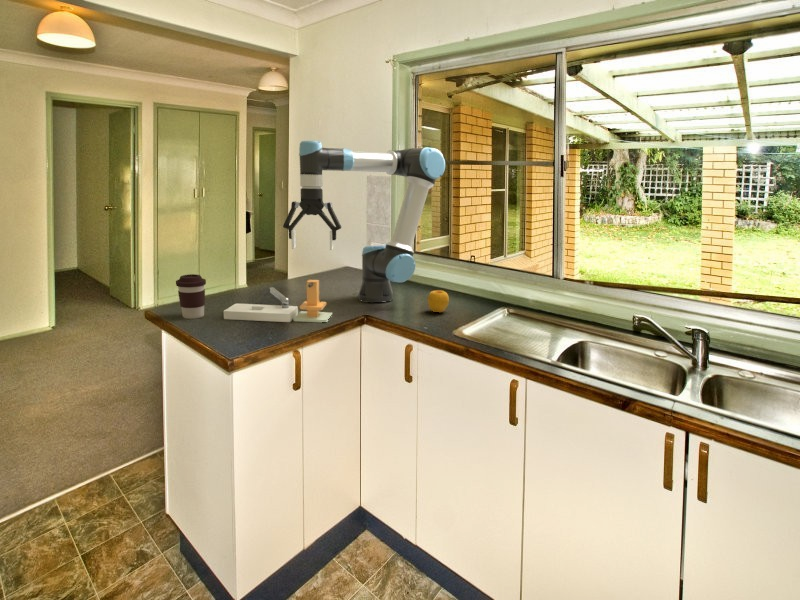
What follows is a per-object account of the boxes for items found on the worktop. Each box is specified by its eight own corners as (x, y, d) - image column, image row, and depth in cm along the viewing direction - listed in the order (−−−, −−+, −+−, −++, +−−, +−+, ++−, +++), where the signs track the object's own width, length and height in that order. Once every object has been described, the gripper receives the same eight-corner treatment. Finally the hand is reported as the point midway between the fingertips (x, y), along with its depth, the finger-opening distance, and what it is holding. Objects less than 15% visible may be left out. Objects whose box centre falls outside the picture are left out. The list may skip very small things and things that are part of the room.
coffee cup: (184, 312, 187) (180, 273, 183) (211, 312, 188) (208, 273, 184) (174, 320, 177) (171, 278, 174) (203, 320, 178) (200, 278, 174)
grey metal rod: (289, 303, 185) (289, 298, 185) (282, 304, 184) (282, 299, 184) (274, 291, 203) (274, 287, 203) (268, 292, 202) (268, 287, 201)
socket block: (297, 313, 189) (297, 302, 188) (289, 322, 179) (289, 310, 178) (235, 311, 191) (235, 300, 190) (224, 319, 180) (223, 307, 179)
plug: (326, 313, 188) (326, 279, 185) (320, 320, 179) (320, 284, 175) (305, 312, 188) (304, 278, 185) (298, 319, 179) (297, 283, 176)
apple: (442, 316, 191) (443, 293, 189) (422, 312, 196) (423, 290, 194) (451, 311, 198) (453, 289, 196) (433, 308, 203) (433, 287, 201)
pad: (332, 315, 189) (332, 312, 189) (326, 322, 179) (326, 320, 179) (300, 313, 190) (300, 311, 189) (293, 321, 180) (293, 318, 180)
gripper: (349, 188, 176) (349, 248, 181) (279, 186, 178) (281, 246, 183) (345, 188, 169) (345, 251, 174) (272, 187, 170) (275, 249, 176)
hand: (312, 248), depth 178 cm, fingers open, 13 cm apart
